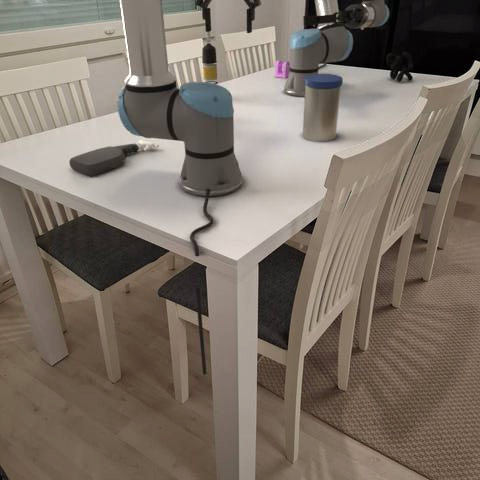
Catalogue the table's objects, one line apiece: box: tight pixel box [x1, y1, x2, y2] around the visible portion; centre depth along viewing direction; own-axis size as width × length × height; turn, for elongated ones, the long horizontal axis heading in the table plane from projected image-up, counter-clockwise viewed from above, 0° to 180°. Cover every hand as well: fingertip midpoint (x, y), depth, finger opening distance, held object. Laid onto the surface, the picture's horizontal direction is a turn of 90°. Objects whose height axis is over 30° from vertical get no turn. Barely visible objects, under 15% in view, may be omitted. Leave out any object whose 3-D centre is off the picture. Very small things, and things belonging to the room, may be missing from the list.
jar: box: [302, 85, 342, 142], centre depth 135 cm, size 10×10×17 cm
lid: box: [304, 73, 344, 89], centre depth 130 cm, size 11×11×2 cm
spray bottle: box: [68, 139, 160, 177], centre depth 124 cm, size 3×11×24 cm
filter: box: [201, 31, 219, 85], centre depth 171 cm, size 6×6×30 cm
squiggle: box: [385, 51, 414, 83], centre depth 198 cm, size 11×10×15 cm
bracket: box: [274, 59, 290, 79], centre depth 212 cm, size 13×6×7 cm, turn 143°
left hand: (228, 32), depth 139 cm, fingers open, 13 cm apart
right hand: (321, 18), depth 140 cm, fingers open, 13 cm apart
